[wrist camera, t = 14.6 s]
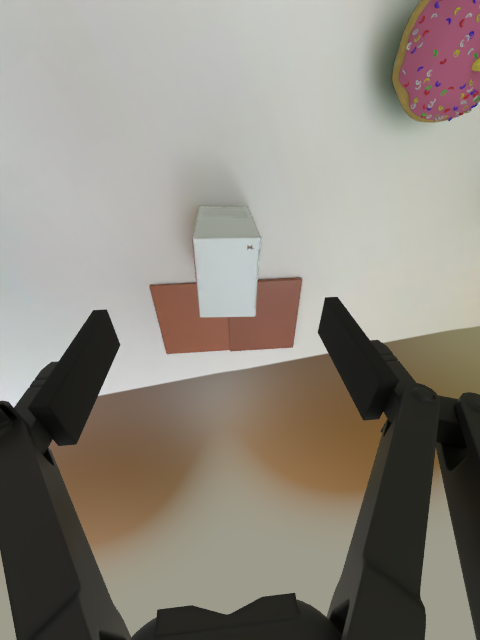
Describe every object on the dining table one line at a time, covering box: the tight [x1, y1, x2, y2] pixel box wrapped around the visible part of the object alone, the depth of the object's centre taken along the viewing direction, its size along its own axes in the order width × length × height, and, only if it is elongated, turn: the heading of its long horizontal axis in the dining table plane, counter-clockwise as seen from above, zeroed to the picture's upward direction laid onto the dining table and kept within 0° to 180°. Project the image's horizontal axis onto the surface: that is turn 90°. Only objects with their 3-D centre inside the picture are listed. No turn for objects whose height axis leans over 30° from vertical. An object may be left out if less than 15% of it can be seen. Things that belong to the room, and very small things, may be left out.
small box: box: [192, 206, 261, 317], centre depth 27 cm, size 8×6×10 cm
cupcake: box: [392, 0, 480, 122], centre depth 18 cm, size 9×8×12 cm
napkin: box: [150, 278, 302, 354], centre depth 37 cm, size 20×12×1 cm, turn 91°
